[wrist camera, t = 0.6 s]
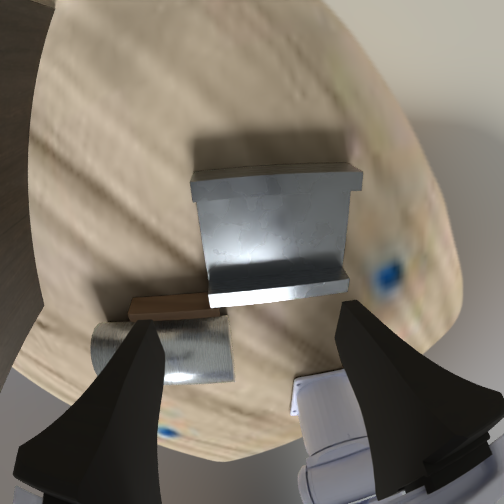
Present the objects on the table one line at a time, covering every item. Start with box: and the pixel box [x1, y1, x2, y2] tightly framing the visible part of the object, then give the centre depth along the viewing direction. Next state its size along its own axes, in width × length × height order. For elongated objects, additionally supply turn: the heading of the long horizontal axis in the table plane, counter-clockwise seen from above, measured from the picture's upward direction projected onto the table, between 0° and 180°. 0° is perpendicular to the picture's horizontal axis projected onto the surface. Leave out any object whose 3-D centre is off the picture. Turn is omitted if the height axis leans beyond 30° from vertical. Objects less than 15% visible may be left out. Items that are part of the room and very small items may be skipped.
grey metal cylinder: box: [91, 315, 235, 385], centre depth 21 cm, size 11×5×5 cm, turn 93°
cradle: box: [190, 163, 363, 308], centre depth 18 cm, size 9×10×2 cm
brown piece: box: [127, 292, 220, 322], centre depth 23 cm, size 8×7×2 cm
